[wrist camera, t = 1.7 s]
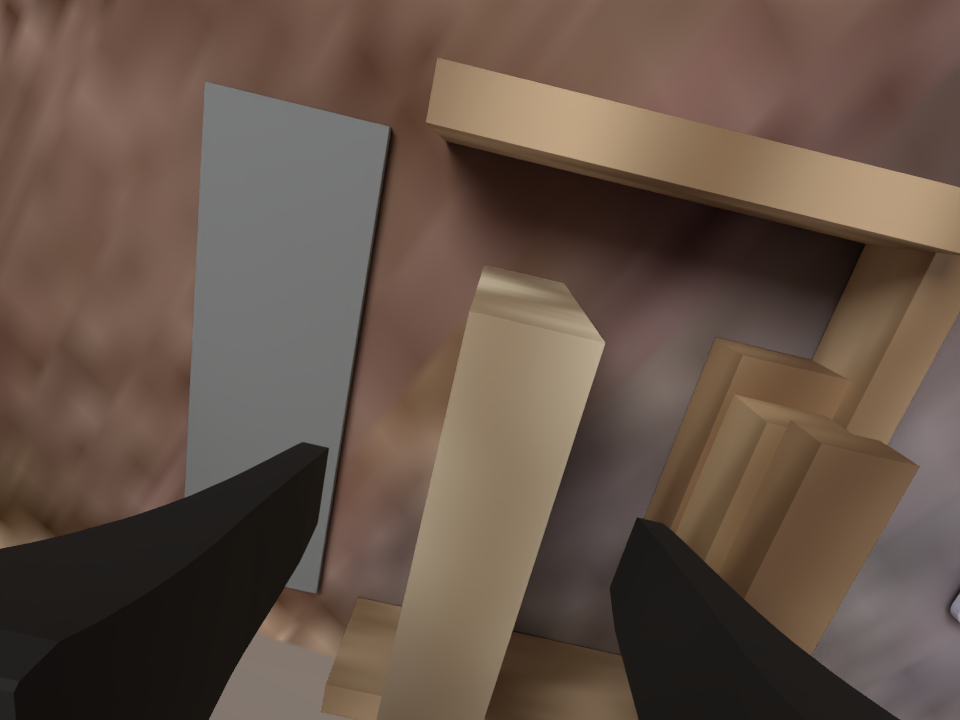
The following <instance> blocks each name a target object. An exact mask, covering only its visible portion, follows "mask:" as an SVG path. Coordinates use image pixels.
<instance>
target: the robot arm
mask: <svg viewBox="0 0 960 720" xmlns="http://www.w3.org/2000/svg"><path fill="white" fill-rule="evenodd" d="M328 452H329V448H328V447H323V446H319V445H314V444H310V443H306V442H301V443H299V444H297V445H295V446H293V447H291V448H289V449H287V450H285V451H283V452H281V453H279V454H277V455H276V456H274V457H272V458H270V459H268V460H266V461H264V462H262V463H260V464H258V465H256V466H254V467H252V468H250V469H248V470H246V471H244V472H242V473H240V474H238V475H236V476H234V477H231V478H229V479H227V480H225V481H222V482H220V483H218V484H216V485H213V486H211V487H209V488H206V489H204V490H202V491H200V492H197V493H195V494H193V495H191V496H188V497H185V498H183V499H180V500H178V501H175V502H172V503H170V504H167V505H164V506H161V507H159V508H156V509H153V510H150V511H147V512H144V513H141V514H138V515H135V516H132V517H129V518H126V519H122V520H118V521H115V522H111V523H107V524H104V525H100V526H97V527H93V528H89V529H86V530H82V531H78V532H75V533H71V534H67V535H63V536H59V537H54V538H50V539H46V540H41V541H37V542H32V543H28V544H23V545H17V546H12V547H7V548H2V549H0V720H209V718H210V716H211V714H212V712H213V710H214V708H215V706H216V704H217V702H218V700H219V698H220V696H221V694H222V692H223V690H224V688H225V686H226V684H227V682H228V680H229V678H230V676H231V674H232V672H233V671H234V669H235V667H236V666H237V664H238V662H239V660H240V659H241V657H242V655H243V653H244V652H245V650H246V648H247V647H248V645H249V644H250V642H251V640H252V639H253V637H254V636H255V634H256V632H257V631H258V629H259V628H260V626H261V624H262V623H263V621H264V620H265V618H266V616H267V615H268V613H269V612H270V610H271V608H272V607H273V605H274V604H275V602H276V600H277V599H278V597H279V595H280V594H281V592H282V591H283V589H284V587H285V586H286V584H287V583H288V581H289V579H290V578H291V576H292V574H293V573H294V571H295V569H296V568H297V566H298V564H299V563H300V561H301V559H302V557H303V554H304V552H305V550H306V548H307V546H308V544H309V542H310V539H311V537H312V535H313V533H314V531H315V528H316V526H317V524H318V519H319V512H320V506H321V499H322V492H323V486H324V479H325V472H326V466H327V459H328ZM610 594H611V603H612V611H613V618H614V625H615V632H616V636H617V640H618V644H619V648H620V652H621V656H622V660H623V663H624V667H625V671H626V675H627V679H628V682H629V686H630V690H631V694H632V697H633V701H634V705H635V708H636V712H637V716H638V720H900V719H898V718H896V717H895V716H893V715H892V714H891V713H889V712H888V711H886V710H885V709H883V708H882V707H880V706H879V705H878V704H876V703H875V702H873V701H872V700H870V699H869V698H867V697H866V696H864V695H863V694H862V693H860V692H859V691H857V690H856V689H854V688H853V687H852V686H850V685H849V684H847V683H846V682H845V681H843V680H842V679H841V678H839V677H838V676H836V675H835V674H834V673H832V672H831V671H830V670H828V669H827V668H826V667H825V666H823V665H822V664H821V663H819V662H818V661H817V660H816V659H814V658H813V657H812V656H810V655H809V654H808V653H807V652H805V651H804V650H803V649H802V648H800V647H799V646H798V645H796V644H795V643H794V642H793V641H792V640H790V639H789V638H788V637H787V636H785V635H784V634H783V633H782V632H781V631H779V630H778V629H777V628H776V627H775V626H774V625H773V624H771V623H770V622H769V621H768V620H767V619H766V618H765V617H763V616H762V615H761V614H760V613H759V612H758V611H757V610H755V609H754V608H753V607H752V606H751V605H750V604H749V603H748V602H747V601H746V600H744V599H743V598H742V597H741V596H740V595H739V594H738V593H737V592H736V591H735V590H734V589H733V588H732V587H730V586H729V585H728V584H727V583H726V582H725V581H724V580H723V579H722V578H721V577H720V576H719V575H718V574H717V573H716V572H715V571H714V570H713V569H712V568H711V567H710V566H709V565H708V564H707V563H705V562H704V561H703V560H702V559H701V558H700V557H699V556H698V555H697V554H696V553H695V552H694V551H693V550H692V549H691V548H690V547H689V546H688V545H687V544H686V543H685V542H684V541H683V540H682V539H681V538H679V537H678V536H677V535H676V534H675V533H674V532H673V531H672V530H671V529H669V528H668V527H667V526H666V525H664V524H663V523H660V522H655V521H651V520H646V519H642V518H638V517H637V519H636V521H635V524H634V527H633V529H632V532H631V534H630V537H629V540H628V542H627V545H626V547H625V550H624V552H623V555H622V558H621V560H620V563H619V565H618V568H617V570H616V573H615V576H614V578H613V581H612V583H611V586H610ZM950 610H951V614H952V615H953V617H954V618H955V619H957V620H958V621H959V622H960V593H959V595H958V596H957V598H956V599H955V601H954V602H953V604H952V606H951V609H950Z"/></svg>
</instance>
